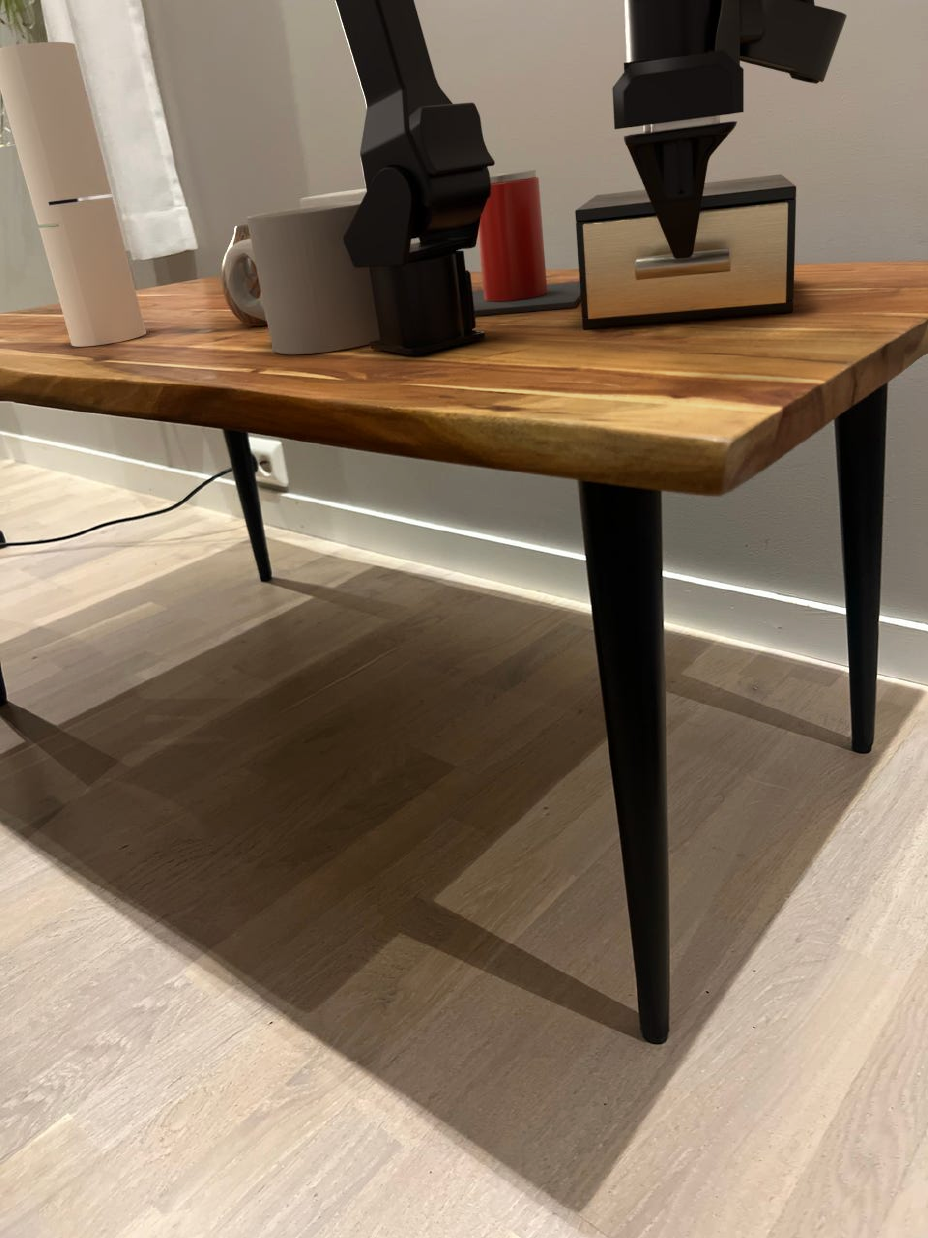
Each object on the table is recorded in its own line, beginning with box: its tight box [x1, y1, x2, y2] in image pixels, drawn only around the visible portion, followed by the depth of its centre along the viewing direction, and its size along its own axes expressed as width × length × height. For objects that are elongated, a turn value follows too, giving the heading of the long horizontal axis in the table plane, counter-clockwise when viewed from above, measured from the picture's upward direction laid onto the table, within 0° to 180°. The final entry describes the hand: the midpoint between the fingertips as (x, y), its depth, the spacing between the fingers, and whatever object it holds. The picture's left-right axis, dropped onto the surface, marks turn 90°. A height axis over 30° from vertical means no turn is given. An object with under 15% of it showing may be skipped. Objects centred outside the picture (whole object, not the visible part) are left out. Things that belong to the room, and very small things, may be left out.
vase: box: [220, 223, 268, 327], centre depth 93 cm, size 7×7×9 cm
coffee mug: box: [224, 201, 380, 355], centre depth 79 cm, size 13×10×10 cm
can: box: [477, 169, 548, 302], centre depth 86 cm, size 6×6×10 cm
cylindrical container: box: [0, 41, 147, 348], centre depth 92 cm, size 7×7×25 cm
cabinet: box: [574, 174, 797, 330], centre depth 75 cm, size 15×15×8 cm
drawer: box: [583, 201, 788, 319], centre depth 71 cm, size 18×13×6 cm
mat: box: [472, 280, 581, 317], centre depth 88 cm, size 12×12×1 cm
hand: (683, 257), depth 59 cm, fingers closed
